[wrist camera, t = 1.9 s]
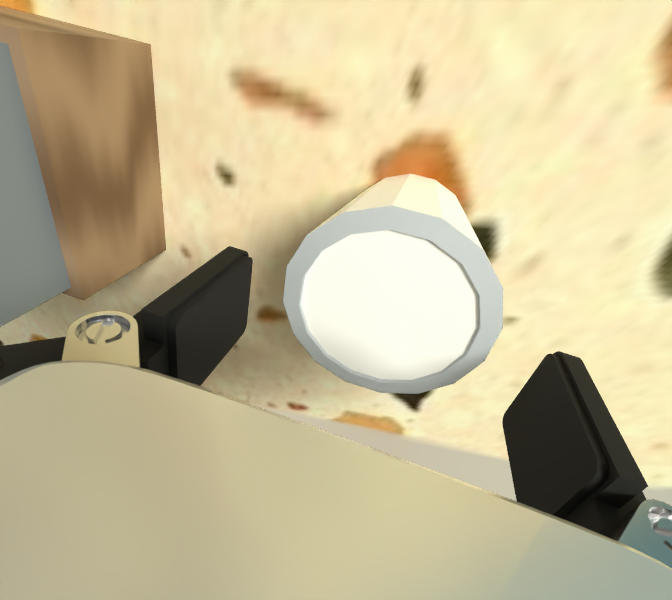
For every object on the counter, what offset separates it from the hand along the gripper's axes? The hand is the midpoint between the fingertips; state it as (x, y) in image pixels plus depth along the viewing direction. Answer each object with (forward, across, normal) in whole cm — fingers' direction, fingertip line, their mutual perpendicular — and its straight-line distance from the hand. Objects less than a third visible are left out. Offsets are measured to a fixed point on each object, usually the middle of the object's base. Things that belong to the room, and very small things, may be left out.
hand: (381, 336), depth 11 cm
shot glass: (+7, 0, -1) cm, 7 cm away
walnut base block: (+7, +18, -1) cm, 20 cm away
